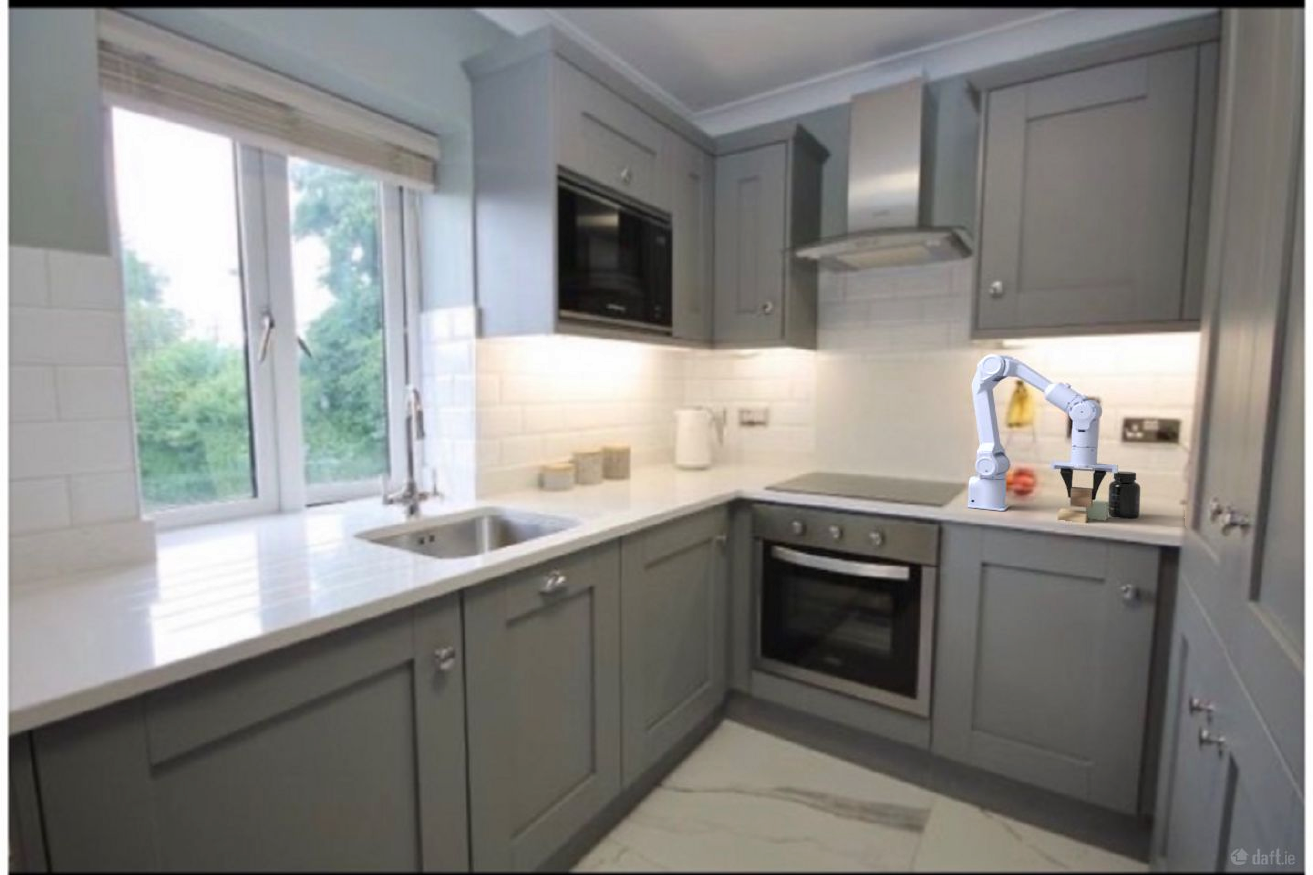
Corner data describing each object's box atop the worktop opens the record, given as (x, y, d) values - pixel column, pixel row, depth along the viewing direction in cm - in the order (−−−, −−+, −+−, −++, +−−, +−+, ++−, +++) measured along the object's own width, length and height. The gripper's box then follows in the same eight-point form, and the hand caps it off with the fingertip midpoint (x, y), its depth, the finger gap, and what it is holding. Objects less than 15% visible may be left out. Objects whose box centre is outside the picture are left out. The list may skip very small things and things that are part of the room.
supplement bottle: (1125, 513, 173) (1127, 470, 172) (1145, 518, 166) (1148, 474, 165) (1101, 514, 173) (1103, 470, 172) (1120, 519, 166) (1123, 474, 165)
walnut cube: (1070, 505, 164) (1070, 488, 164) (1072, 503, 168) (1072, 486, 167) (1090, 507, 161) (1091, 490, 161) (1092, 505, 165) (1093, 488, 165)
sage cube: (1085, 518, 167) (1086, 502, 167) (1087, 516, 171) (1087, 499, 170) (1105, 521, 164) (1106, 504, 164) (1107, 518, 168) (1108, 501, 167)
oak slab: (1057, 521, 166) (1058, 512, 165) (1060, 517, 170) (1061, 508, 170) (1085, 524, 162) (1085, 515, 162) (1087, 520, 167) (1087, 511, 166)
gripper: (1049, 446, 165) (1047, 497, 166) (1117, 449, 156) (1114, 503, 157) (1053, 444, 170) (1051, 493, 171) (1119, 447, 161) (1116, 499, 162)
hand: (1081, 498), depth 165 cm, fingers closed on walnut cube, 4 cm apart
